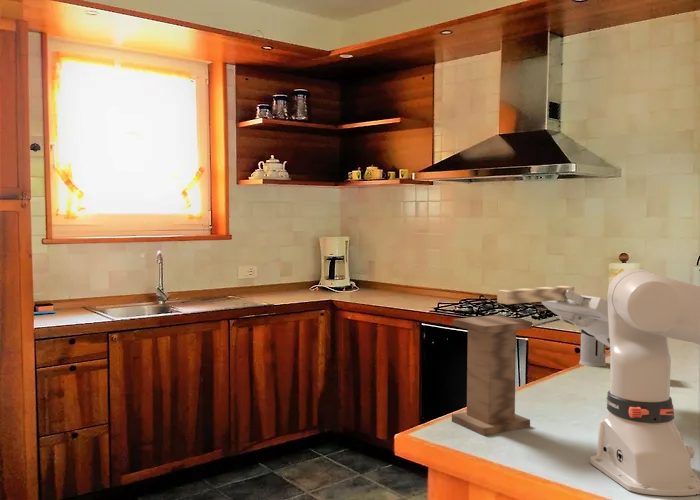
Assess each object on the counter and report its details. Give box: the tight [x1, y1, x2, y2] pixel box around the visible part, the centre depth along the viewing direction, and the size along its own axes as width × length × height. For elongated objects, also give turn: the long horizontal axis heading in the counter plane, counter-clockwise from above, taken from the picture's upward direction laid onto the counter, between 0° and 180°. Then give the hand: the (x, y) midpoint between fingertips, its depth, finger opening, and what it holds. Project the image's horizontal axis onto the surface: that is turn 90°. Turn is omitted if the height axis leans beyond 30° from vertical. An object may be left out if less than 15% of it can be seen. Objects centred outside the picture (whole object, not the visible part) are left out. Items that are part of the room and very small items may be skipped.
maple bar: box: [496, 285, 575, 305], centre depth 164 cm, size 22×4×3 cm, turn 118°
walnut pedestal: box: [451, 314, 533, 436], centre depth 159 cm, size 14×12×25 cm
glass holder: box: [578, 329, 610, 368], centre depth 220 cm, size 9×14×15 cm, turn 21°
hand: (557, 291), depth 168 cm, fingers closed on maple bar, 3 cm apart
